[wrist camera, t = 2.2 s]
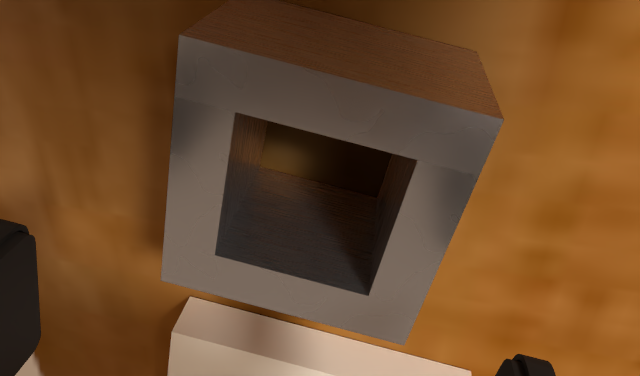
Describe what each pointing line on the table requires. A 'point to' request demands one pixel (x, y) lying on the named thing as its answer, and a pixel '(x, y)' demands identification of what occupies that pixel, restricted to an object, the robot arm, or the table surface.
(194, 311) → the post plinth
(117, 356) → the table surface
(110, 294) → the table surface
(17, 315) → the robot arm
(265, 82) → the collar
